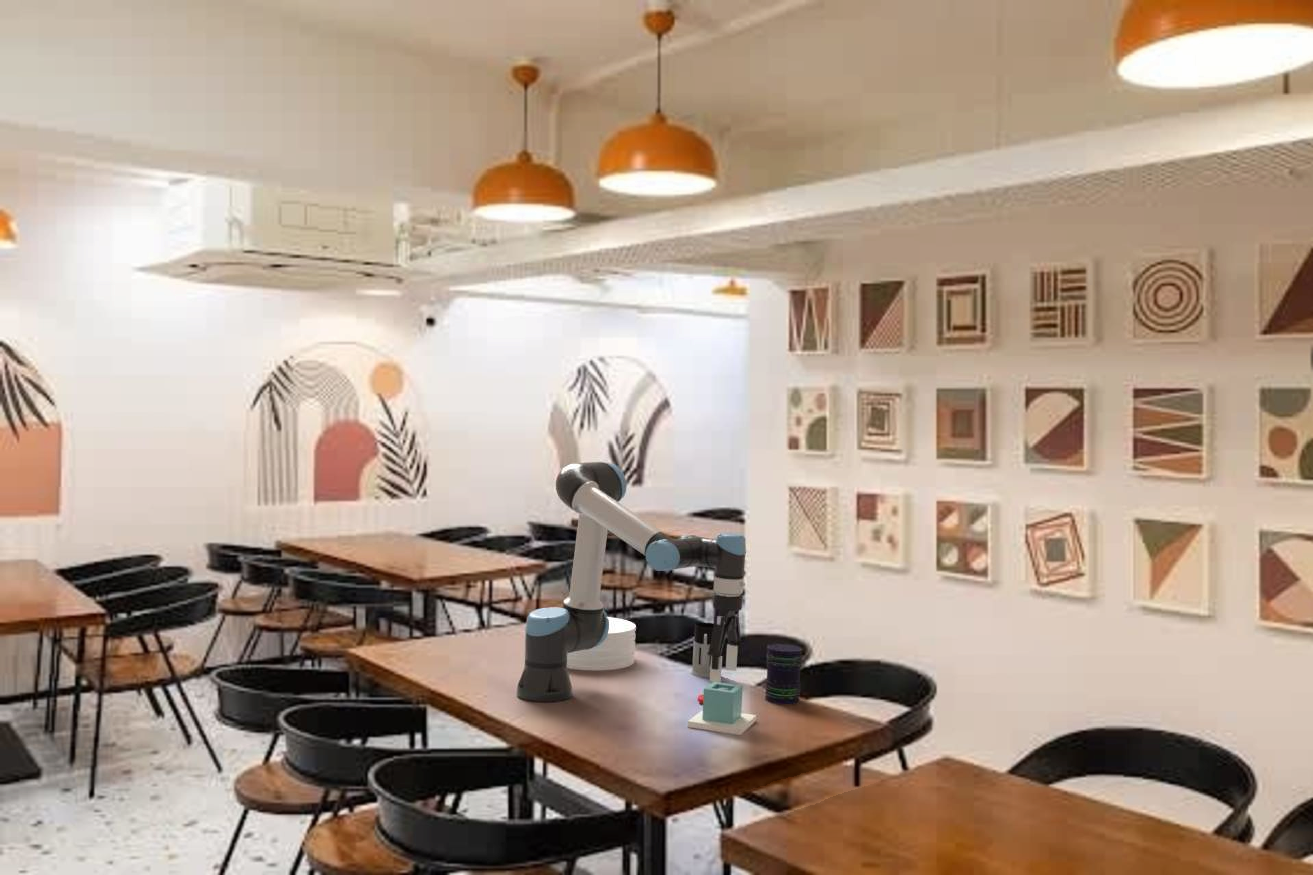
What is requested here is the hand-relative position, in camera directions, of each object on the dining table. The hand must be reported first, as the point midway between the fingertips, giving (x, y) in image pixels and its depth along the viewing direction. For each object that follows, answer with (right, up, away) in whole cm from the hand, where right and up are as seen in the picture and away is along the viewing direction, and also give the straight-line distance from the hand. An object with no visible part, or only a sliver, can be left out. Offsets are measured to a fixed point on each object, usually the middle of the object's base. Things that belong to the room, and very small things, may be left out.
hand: (723, 675), depth 278 cm
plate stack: (-38, -10, +65) cm, 76 cm away
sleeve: (0, -11, 0) cm, 11 cm away
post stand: (0, -12, 0) cm, 12 cm away
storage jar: (+18, -13, +26) cm, 34 cm away
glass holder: (-3, -11, +50) cm, 51 cm away
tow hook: (-2, -12, +22) cm, 25 cm away
